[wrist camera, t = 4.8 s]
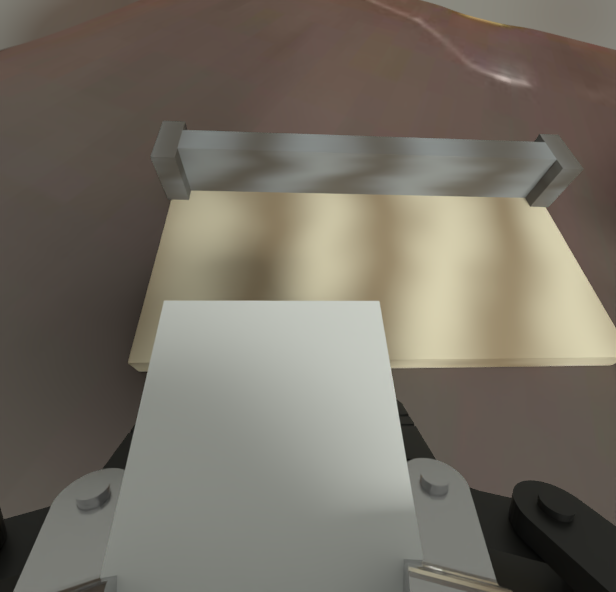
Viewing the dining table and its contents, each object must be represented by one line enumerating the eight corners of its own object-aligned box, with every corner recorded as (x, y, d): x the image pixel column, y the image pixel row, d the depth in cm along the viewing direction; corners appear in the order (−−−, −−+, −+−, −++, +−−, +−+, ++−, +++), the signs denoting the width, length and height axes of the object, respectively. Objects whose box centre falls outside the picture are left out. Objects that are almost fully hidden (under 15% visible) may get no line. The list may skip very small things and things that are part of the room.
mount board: (134, 371, 15) (87, 336, 11) (185, 170, 22) (166, 111, 18) (614, 365, 16) (702, 332, 13) (513, 179, 23) (552, 126, 20)
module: (212, 592, 11) (32, 848, 3) (229, 401, 14) (161, 298, 6) (342, 585, 11) (469, 802, 3) (330, 399, 14) (381, 298, 7)
